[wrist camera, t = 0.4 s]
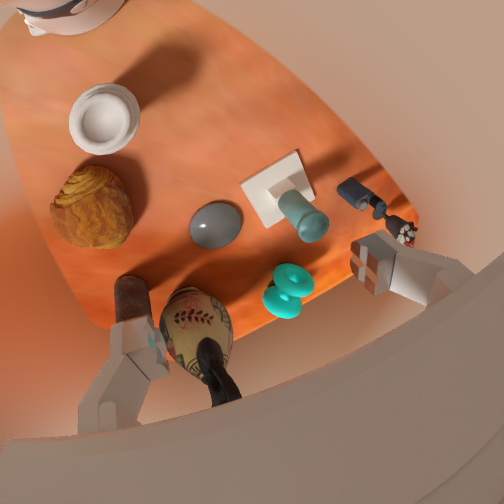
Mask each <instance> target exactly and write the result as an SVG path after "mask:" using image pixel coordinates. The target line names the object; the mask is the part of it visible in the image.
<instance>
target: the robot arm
mask: <svg viewBox="0 0 504 504" xmlns="http://www.w3.org/2000/svg"><path fill="white" fill-rule="evenodd" d="M124 1H125V0H0V5H8V6H14V7H17V9H18V11H19V13H20V14H24V15H25V18H26V19H25V23H26V24H28V27H29V30H30V33H31V34H32V35H33V36H42V35H45V34H49V33H55V34H60V35H76V34H81V33H84V32H87V31H90V30H92V29H94V28H96V27H98V26H100V25H101V24H103V23H104V22H106V21H107V20H108V19H110V18H111V17H112V16H113V15H114V14H115V13H116V12H117V11H118V10H119V9H120V7H121V6H122V5H123V3H124ZM351 251H352V252H353V255H352V257H351V259H350V266H351V270H352V272H353V274H354V276H355V277H356V278H357V279H358V280H360V281H363V282H364V287H365V288H366V289H367V290H368V291H369V292H370V293H371V294H372V295H373V296H376V295H378V294H380V293H382V292H384V291H386V290H389V289H390V290H391V291H393V292H396V293H398V294H400V295H403V296H405V297H407V298H409V299H411V300H414V301H416V302H418V303H420V304H423V305H425V306H426V309H425V311H423V312H421V313H420V314H418V315H417V316H415V317H413V318H412V319H410V320H409V321H407V322H405V323H403V324H402V325H400V326H398V327H397V328H395V329H393V330H392V331H390V332H388V333H386V334H384V335H383V336H381V337H379V338H377V339H375V340H374V341H372V342H370V343H368V344H366V345H364V346H362V347H360V348H359V349H356V350H355V351H353V352H351V353H349V354H347V355H345V356H343V357H341V358H339V359H336V360H334V361H332V362H330V363H328V364H326V365H324V366H321V367H319V368H317V369H315V370H313V371H310V372H308V373H306V374H303V375H301V376H299V377H296V378H294V379H291V380H289V381H286V382H284V383H282V384H279V385H276V386H274V387H271V388H268V389H266V390H263V391H260V392H258V393H255V394H252V395H249V396H246V397H244V398H241V399H238V400H235V401H232V402H228V403H225V404H222V405H219V406H216V407H212V408H209V409H206V410H202V411H199V412H195V413H191V414H188V415H184V416H180V417H176V418H172V419H168V420H163V421H159V422H154V423H150V424H145V425H142V424H141V423H139V422H138V421H137V417H138V414H139V412H140V409H141V406H142V404H143V401H144V398H145V396H146V393H147V391H148V388H149V385H150V383H151V382H150V381H153V380H156V379H159V378H162V377H166V376H169V375H170V369H169V363H168V360H167V358H166V357H165V354H166V352H167V349H166V344H165V341H164V338H163V336H162V333H161V332H160V330H159V328H156V327H154V320H153V319H152V317H151V316H150V315H149V314H146V315H143V316H139V317H136V318H132V319H129V320H126V321H123V322H120V323H116V324H113V325H112V327H111V339H110V358H109V359H107V360H106V361H105V363H104V364H103V366H102V367H101V369H100V371H99V372H98V374H97V376H96V377H95V379H94V380H93V382H92V384H91V385H90V387H89V389H88V390H87V392H86V394H85V395H84V397H83V399H82V401H81V402H80V404H79V406H78V435H72V436H60V437H43V438H11V439H9V440H7V441H6V442H5V444H4V445H3V446H2V448H1V449H0V504H504V252H503V253H502V254H501V255H500V256H498V257H497V258H496V259H495V260H494V261H492V262H491V263H490V264H489V265H488V266H486V267H485V268H484V269H482V270H481V271H480V272H479V273H477V274H476V275H475V274H474V273H473V272H471V271H470V270H469V269H468V268H467V267H466V266H464V265H463V264H462V263H461V262H459V261H458V260H456V259H453V258H449V257H445V256H442V255H438V254H434V253H430V252H427V251H423V250H418V249H415V248H411V247H410V248H407V247H405V246H404V245H403V244H401V243H400V242H399V241H398V240H396V239H395V238H394V237H393V236H391V235H390V234H389V233H387V232H386V231H385V230H379V231H377V232H374V233H372V234H370V235H368V236H365V237H363V238H360V239H357V240H355V241H352V244H351Z"/></svg>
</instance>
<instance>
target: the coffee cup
mask: <svg viewBox="0 0 504 504" xmlns="http://www.w3.org/2000/svg"><path fill="white" fill-rule="evenodd" d="M139 124H140V107H139V105H138V102H137V100H136V98H135V96H134V95H133V94H132V93H131V92H130V91H129V90H128V89H127V88H126V87H124V86H121V85H117V84H114V83H105V84H97V85H95V86H93V87H92V88H90V89H88V90H86V91H84V92H83V93H82V94H81V95H80V97H79V98H78V99H77V100H76V101H75V103H74V104H73V107H72V110H71V113H70V116H69V131H70V134H71V136H72V138H73V140H74V142H75V143H76V144H77V145H78V146H79V147H80V148H82V149H83V150H84V151H85V152H88V153H92V154H96V155H104V154H112V153H114V152H116V151H118V150H120V149H122V148H124V147H125V146H126V145H127V144H128V143H129V141H130V140H131V139H132V138H133V137H134V136H135V133H136V131H137V128H138V126H139Z"/></svg>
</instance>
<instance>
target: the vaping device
mask: <svg viewBox="0 0 504 504" xmlns="http://www.w3.org/2000/svg"><path fill="white" fill-rule="evenodd" d="M337 192H338V194H339V195H340V196H341V197H342V198H344V199H345V200H346V201H347V202H348V203H349V204H351V205H352V206H353V207H354V208H356V209H360V210H361V211H363V210H365V209H366V208H367V204H368V203H369V204H370V205H371V206H372V207H374V208H375V209H376V210H377V211H378V212H382V211H383V212H385V211H386V210H387V207H386V203H385V202H384V201H383V200H382V199H380V198H379V197H378V196H376V195H375V194H374V193H373V192H372V191H371V190H369V189H368V188H366V187H364V186H363V185H362V184H360V183H359V182H358V181H356V180H355V179H353V178H352V177H351V178H349V179H348V180H346V181H345V182H343V183H342V184H340V185H339V186H338V187H337Z"/></svg>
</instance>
